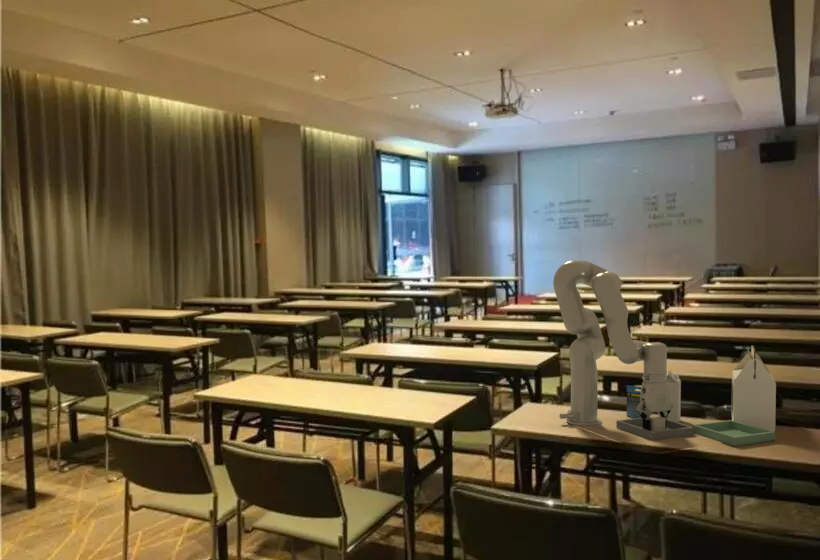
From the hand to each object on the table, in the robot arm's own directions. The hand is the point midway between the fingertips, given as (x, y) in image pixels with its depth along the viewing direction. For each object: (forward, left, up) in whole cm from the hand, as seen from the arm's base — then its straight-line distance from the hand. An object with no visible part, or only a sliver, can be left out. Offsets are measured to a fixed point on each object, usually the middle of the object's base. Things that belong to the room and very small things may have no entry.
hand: (654, 429), depth 235 cm
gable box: (+42, -4, -1) cm, 42 cm away
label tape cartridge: (+10, +19, -1) cm, 22 cm away
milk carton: (+17, +11, -1) cm, 20 cm away
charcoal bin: (0, 0, -1) cm, 1 cm away
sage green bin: (+20, -15, -1) cm, 25 cm away
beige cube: (0, 0, -1) cm, 1 cm away
